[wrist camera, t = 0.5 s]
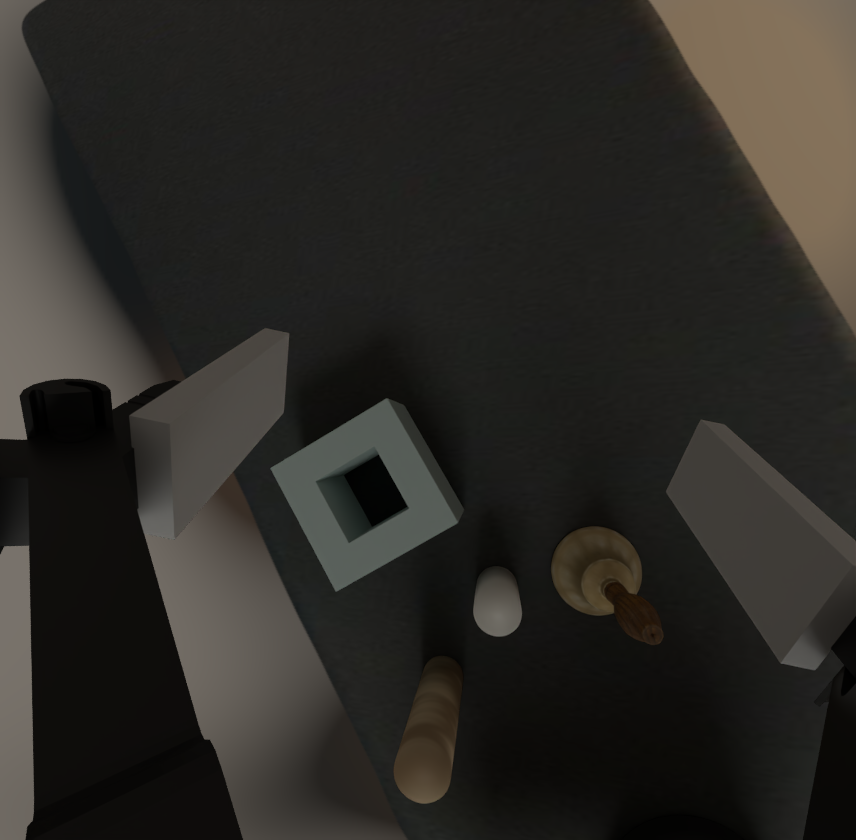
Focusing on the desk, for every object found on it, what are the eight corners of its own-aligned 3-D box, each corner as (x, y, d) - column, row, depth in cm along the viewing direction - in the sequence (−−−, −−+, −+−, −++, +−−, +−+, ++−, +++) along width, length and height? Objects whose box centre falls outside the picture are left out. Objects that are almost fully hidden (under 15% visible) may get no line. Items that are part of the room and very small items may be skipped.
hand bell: (584, 508, 46) (630, 542, 31) (659, 561, 45) (749, 626, 29) (533, 578, 47) (553, 647, 31) (607, 632, 46) (667, 734, 30)
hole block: (464, 509, 48) (458, 522, 40) (361, 567, 49) (336, 591, 41) (404, 405, 49) (387, 398, 41) (305, 464, 50) (270, 468, 42)
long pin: (471, 686, 47) (461, 788, 33) (435, 704, 47) (411, 813, 33) (450, 648, 47) (432, 733, 34) (415, 667, 48) (383, 758, 34)
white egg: (525, 595, 47) (531, 622, 40) (489, 615, 47) (488, 645, 40) (504, 558, 47) (506, 578, 40) (468, 578, 47) (464, 601, 41)
